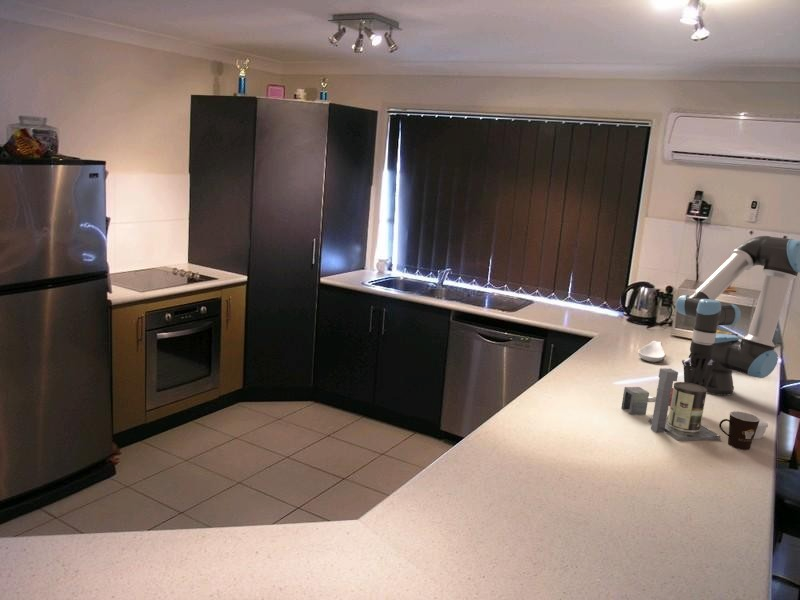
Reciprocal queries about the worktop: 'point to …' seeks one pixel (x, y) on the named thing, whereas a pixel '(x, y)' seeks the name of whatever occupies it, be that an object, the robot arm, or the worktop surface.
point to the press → (661, 408)
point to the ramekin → (760, 429)
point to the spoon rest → (652, 352)
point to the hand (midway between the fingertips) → (691, 404)
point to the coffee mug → (741, 429)
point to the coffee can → (687, 407)
